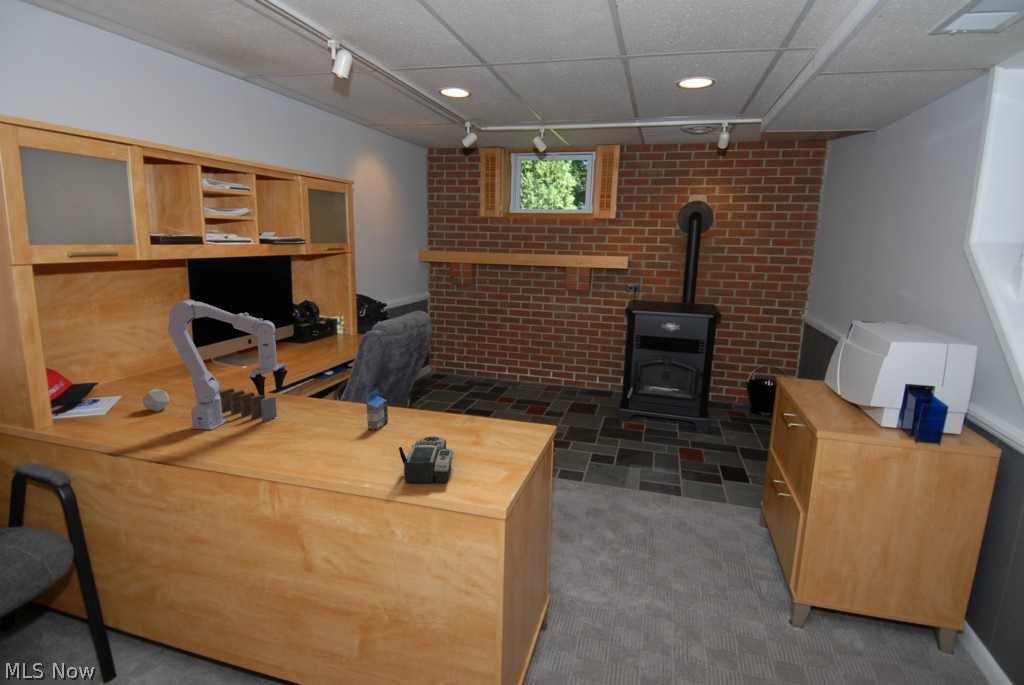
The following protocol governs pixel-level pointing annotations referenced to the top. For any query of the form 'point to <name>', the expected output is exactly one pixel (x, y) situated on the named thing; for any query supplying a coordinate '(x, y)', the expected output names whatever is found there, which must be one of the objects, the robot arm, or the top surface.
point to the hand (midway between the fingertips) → (270, 392)
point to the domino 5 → (268, 408)
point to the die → (156, 400)
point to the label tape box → (376, 411)
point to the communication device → (427, 461)
